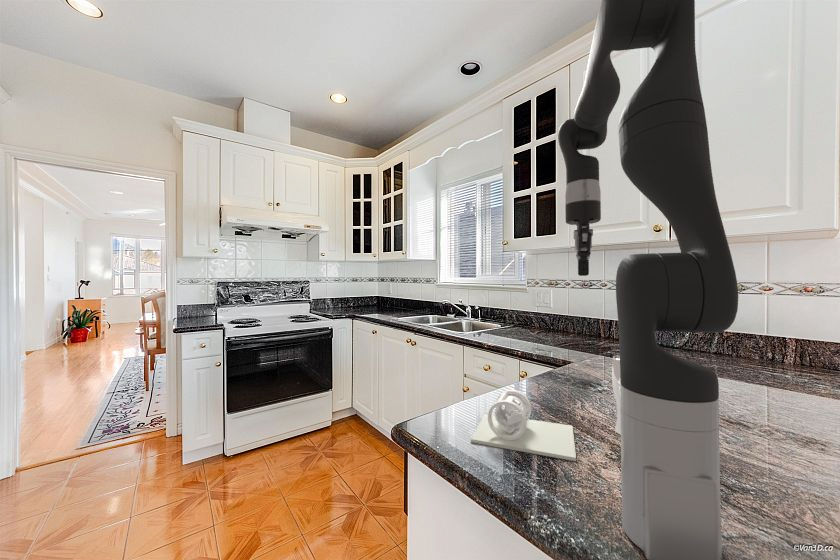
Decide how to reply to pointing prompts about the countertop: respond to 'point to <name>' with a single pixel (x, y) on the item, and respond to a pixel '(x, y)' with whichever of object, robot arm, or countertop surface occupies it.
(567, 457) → the mat
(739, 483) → the countertop surface
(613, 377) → the beer glass
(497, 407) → the white stacked pillar
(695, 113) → the robot arm
